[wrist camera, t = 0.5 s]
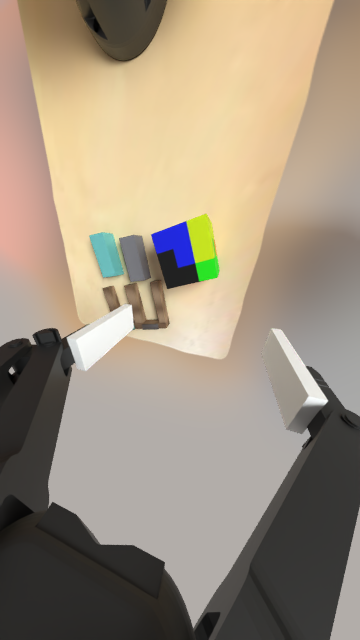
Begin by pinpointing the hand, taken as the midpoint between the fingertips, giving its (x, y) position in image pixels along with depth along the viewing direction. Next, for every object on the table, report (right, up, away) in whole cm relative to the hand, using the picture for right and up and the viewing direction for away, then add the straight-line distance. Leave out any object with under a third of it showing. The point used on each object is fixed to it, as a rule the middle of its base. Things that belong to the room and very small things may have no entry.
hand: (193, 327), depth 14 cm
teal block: (-20, +18, +27) cm, 38 cm away
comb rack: (-14, +5, +31) cm, 34 cm away
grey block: (-12, +17, +25) cm, 33 cm away
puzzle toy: (+2, +16, +21) cm, 27 cm away
